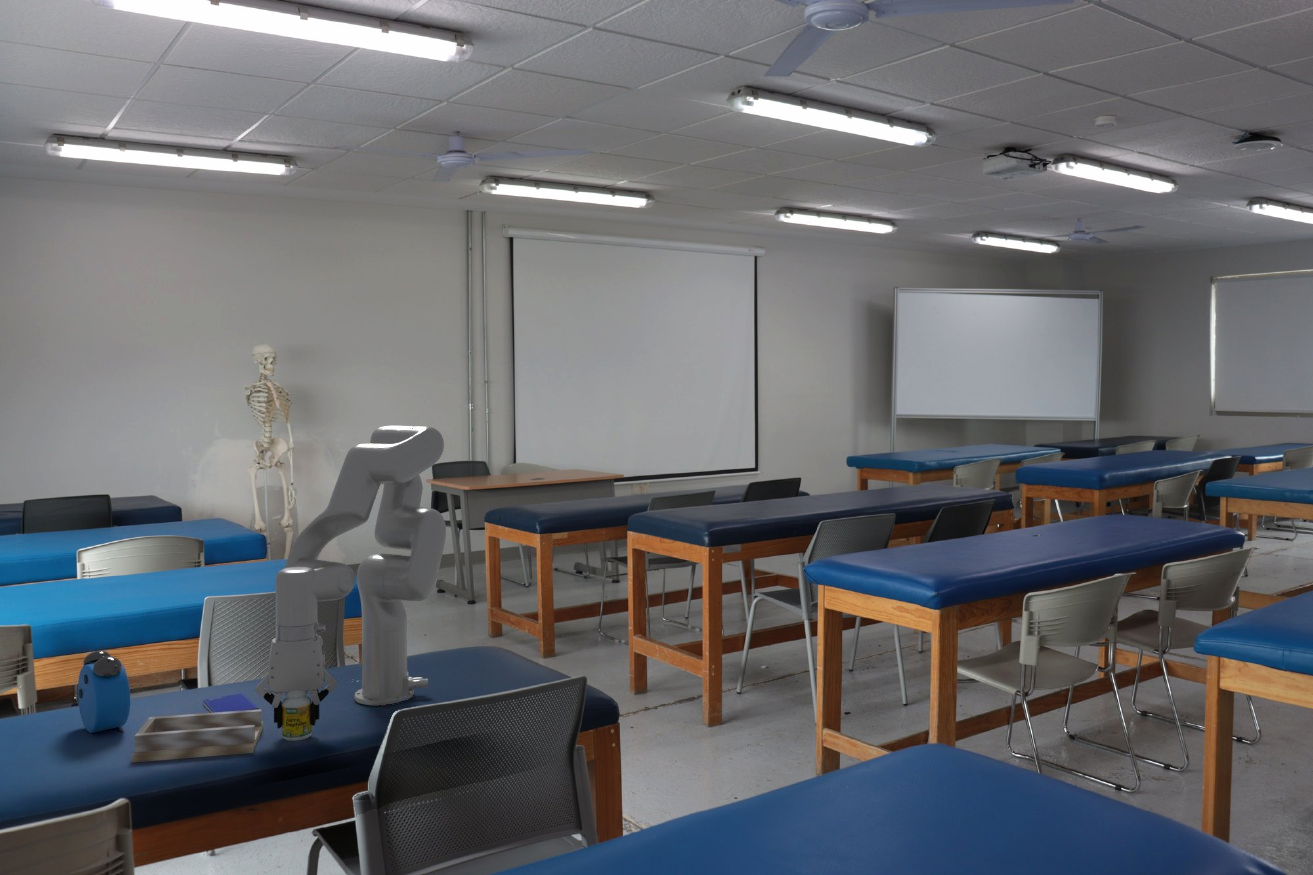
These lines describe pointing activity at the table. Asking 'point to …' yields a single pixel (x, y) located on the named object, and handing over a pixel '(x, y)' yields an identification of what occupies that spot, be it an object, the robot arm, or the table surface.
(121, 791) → the table surface
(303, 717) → the supplement bottle
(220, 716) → the rail holder
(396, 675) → the robot arm
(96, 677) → the alarm clock
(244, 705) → the hard drive
